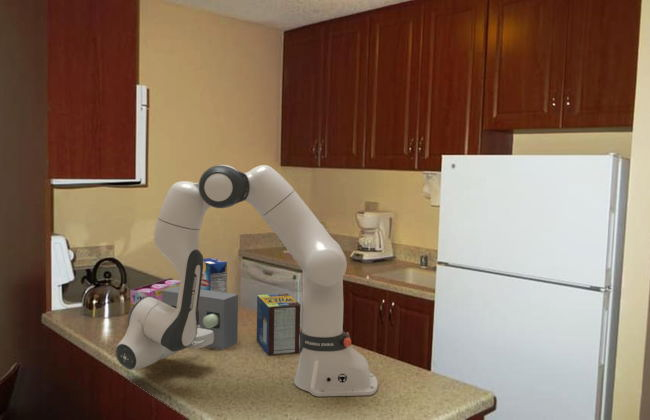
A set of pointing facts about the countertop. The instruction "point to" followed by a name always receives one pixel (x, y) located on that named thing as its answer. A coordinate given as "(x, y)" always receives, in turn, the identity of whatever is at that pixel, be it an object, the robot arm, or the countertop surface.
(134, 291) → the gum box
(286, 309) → the protein box
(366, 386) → the robot arm
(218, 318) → the sage button
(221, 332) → the button panel
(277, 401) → the countertop surface
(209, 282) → the beverage box
